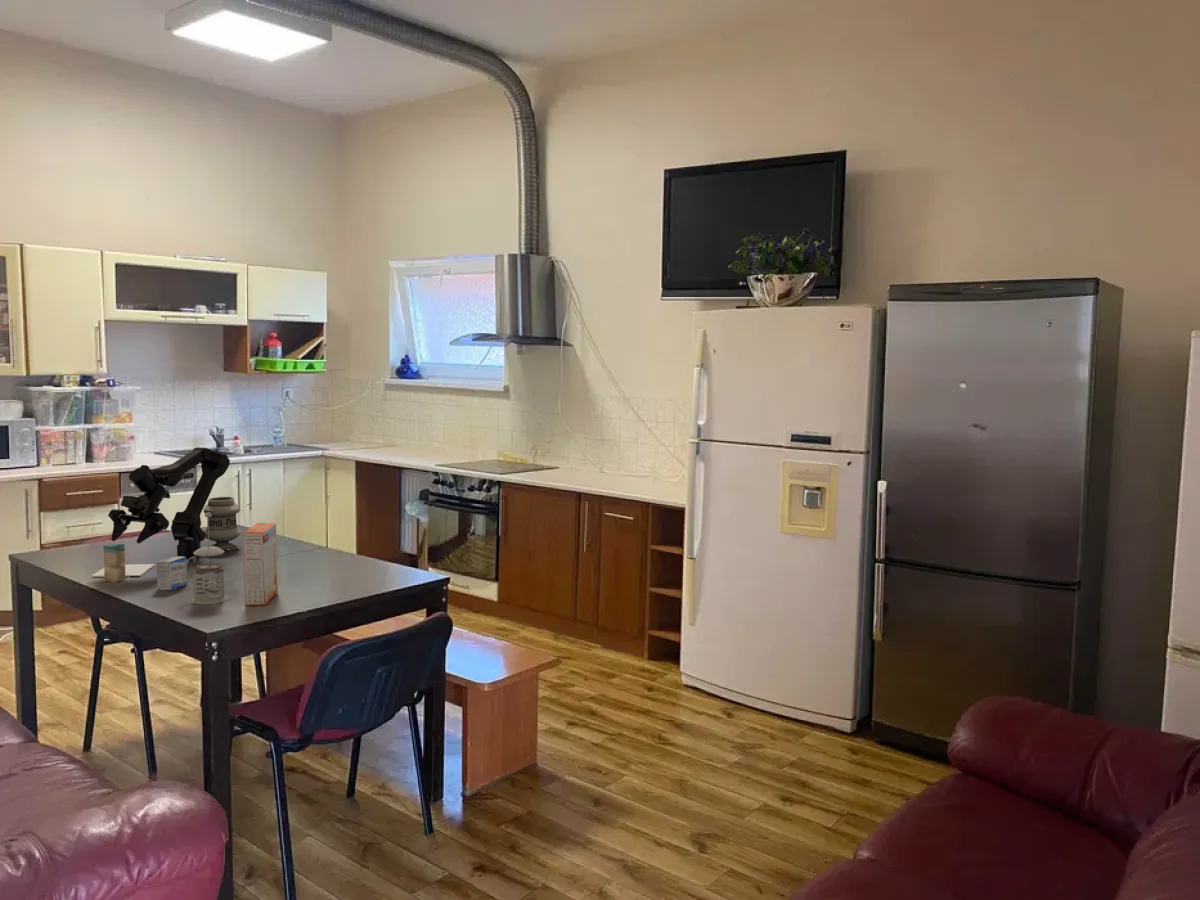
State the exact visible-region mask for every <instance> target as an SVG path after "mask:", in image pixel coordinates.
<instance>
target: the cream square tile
mask: <svg viewBox="0 0 1200 900" xmlns="http://www.w3.org/2000/svg"><path fill="white" fill-rule="evenodd" d="M153 566H154V567H155V566H156V564H154V563H150V564H149V563H147V564H145V563H143V564H141V563H140V564H136V563H135V564H133V563H132V564H125V576H141V575H142V574H144V573H145V572H146V571H148V570H149V569H150V568H152V567H153ZM154 567H153V568H154ZM153 568H152V569H153ZM150 570H151V569H150ZM150 570H149V571H150ZM149 571H148V572H149ZM146 573H147V572H146ZM146 573H145V574H146ZM145 574H144V575H145ZM142 576H143V575H142ZM142 576H141V577H142ZM94 577H104V567H103V568H101V569H100V570H98V571H97V572H95V573H93V574H92V575H91V579H93V578H94Z"/></svg>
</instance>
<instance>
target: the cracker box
mask: <svg viewBox="0 0 1200 900" xmlns="http://www.w3.org/2000/svg"><path fill="white" fill-rule="evenodd" d="M242 537H243V541H242V544H243V545H242V546H243V567H244V568H243V575H244V600H245V601H244V604H245V606H246V607H247V606H251V605H254V606H266V605H267V604H268V603H269V602H271V600H272V599H273V598H274V597H275V596H276V595H277V594H278V591H279V589H278V585H279V583H278V557H277V556H278V554H277V550H278V549H277V544H278V543H277V523H274V522H273V523H271V522H270V523H268V522H266V523H265V522H261V523H260V522H259V523H256V524H254V525H252V526H251V527H250V528H248V529H247V530H245V531H244V532H243V533H242Z"/></svg>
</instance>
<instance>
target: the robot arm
mask: <svg viewBox="0 0 1200 900" xmlns="http://www.w3.org/2000/svg"><path fill="white" fill-rule="evenodd" d="M230 461H231V460H230V458H229V456H228V455H227V454H226V453H219V452H217V451H213V450H211V449H209V448H208V447H199V446H197V447H194V448H193V449H192V450H191V451H190V452H188V453H186V454H185V455H184V456H182V457H180V458H179V459H177V460H176V461H174V462H173V463H170V464H167V465H162V466H160V467H156V468H155V469H154V470H153V471H152V470H151V468H150V467H149V465H146V464H141V465H140V467H138V468H136V469H134V470H133V471H131V472H130V473H129V475H128V479H129V481H130V482H131V483H132V484H133V485H134V486H135V487H136V489H137V491H139V492H140V493H143V494H142V495H141V494H140V495H138V496H135V495H134V496H133V495H123V497H122V500H121V503H120V506H121V507H125V508H127V512H129V513H131V514H128V513H127V512H126V511H125V510H124V509H117V508H114V509H111V510H110V511H109V513H108V515H107V516H108V517H109V519H110V520H111V521H112V523H113V528H112V534H111V541H112V542H116V540H118V539H119V538H120V536H121V535H123V534H124V532H126V531H127V529H129V528H128V526H130V525H131V523H132V522H135V523H141V524H142V523H143V524H144V526H143V528H142V530H141V532H140V534H139V535H138V536H137V539H136V541H135V543H136V544H141V543H143V542H144V541H146V540H147V539H149V538H150V537H153V536H154V535H156V534H158V533H160V532H161V533H162V532H163V531H167V529H168V527H169V525H170V521H169V520H168V518H167V517H166V516H165V515H164V514H163V513H162V512H160V508H159V506H160V505H161V503H162V502H163V500H164V499H171V494H170V492H169V489H166V488H165V487H169V488H173V487H175V486H177V485H178V484H179V483H180V482H181V480H182V479H183V475H185V474H186V473H188V472H189V471H191V470H192V469H193V468H195V467H196V466H198V465H200V469H201V476H200V478H199V480H198V482H197V484H196V486H195V488H194V491H193V493H192V495H191V496H190V499H189V500H188V501H189V502H188V503H187V505H186V508H185V509H184V510H183V511H177V512H176V513H175V515H174V518H173V520H172V521H171V523H172V524H171V526H170V531H171V535H172V537H173V539H174V540H173V541H178V544H177V545H176V556H182V557H186V561H187V560H188V559H190V558H191V557H193V556H196V555H194V554H193V553H194V551H196V550H198V549H200V548H202V547H201V546H202V545H201V542H203V541H205V540H206V537H205V535H206V534H205V532H204V531H205V530H203V529H202V527H201V526H202V518H201V514H202V512H203V511H204V507H205V506H206V503H207V502H208V500H209V497H210V495H211V493H212V490H213V488H214V486H215V483H216V482H217V480H218V479H219V478H221V477H222V476H223V475H225V473H226V472H227V470H228V469H229V466H230ZM196 557H197V558H196V561H197V560H199V559H200V558H201V557H202V556H196ZM193 558H194V560H195V557H193ZM193 558H192V559H190V560H189V561H194V560H193Z"/></svg>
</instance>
